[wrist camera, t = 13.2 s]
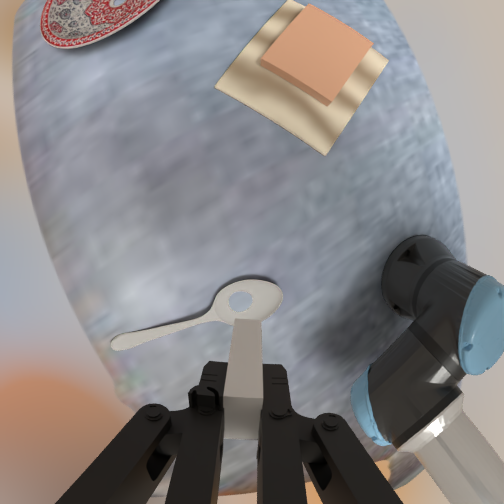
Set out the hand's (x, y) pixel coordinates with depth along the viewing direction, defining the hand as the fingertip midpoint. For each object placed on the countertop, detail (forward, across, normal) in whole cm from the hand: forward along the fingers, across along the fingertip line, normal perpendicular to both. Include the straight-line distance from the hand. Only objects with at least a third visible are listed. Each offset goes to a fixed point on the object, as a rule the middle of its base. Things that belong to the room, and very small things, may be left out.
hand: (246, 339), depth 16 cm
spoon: (+30, -11, -15) cm, 35 cm away
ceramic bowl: (+30, -28, +46) cm, 61 cm away
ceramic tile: (+27, +5, +24) cm, 37 cm away
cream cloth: (+29, +7, +28) cm, 41 cm away
